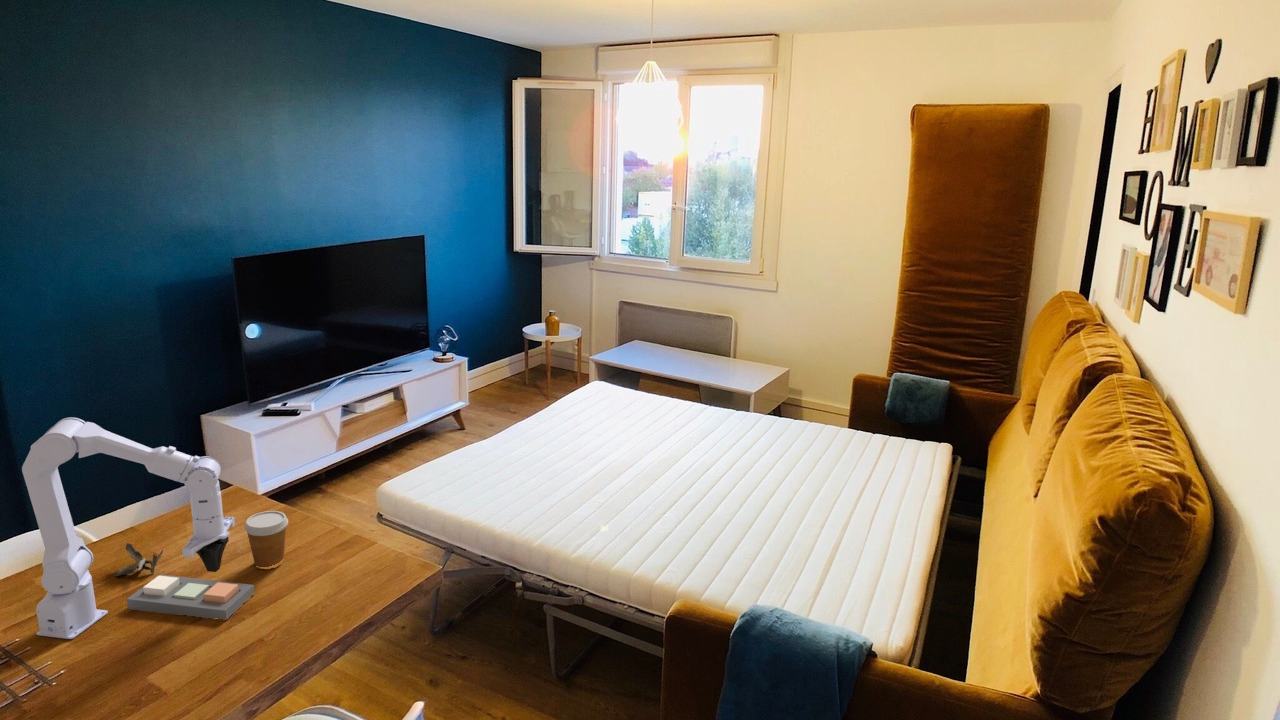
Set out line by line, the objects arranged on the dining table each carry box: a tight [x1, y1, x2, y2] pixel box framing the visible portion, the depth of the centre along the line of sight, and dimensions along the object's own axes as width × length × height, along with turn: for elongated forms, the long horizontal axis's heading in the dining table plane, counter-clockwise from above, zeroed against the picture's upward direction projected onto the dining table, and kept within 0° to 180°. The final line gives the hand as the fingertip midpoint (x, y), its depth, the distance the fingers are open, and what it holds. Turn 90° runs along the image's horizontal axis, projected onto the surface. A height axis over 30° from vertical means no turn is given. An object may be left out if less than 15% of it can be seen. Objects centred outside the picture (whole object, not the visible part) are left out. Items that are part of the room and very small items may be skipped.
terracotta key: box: [204, 582, 239, 604], centre depth 163 cm, size 5×5×3 cm
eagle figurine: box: [114, 543, 164, 577], centre depth 173 cm, size 8×7×9 cm
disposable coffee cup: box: [244, 510, 289, 567], centre depth 179 cm, size 10×10×12 cm
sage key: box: [174, 583, 209, 600], centre depth 163 cm, size 5×5×3 cm
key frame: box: [126, 574, 255, 620], centre depth 164 cm, size 10×23×2 cm, turn 85°
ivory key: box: [142, 575, 180, 597], centre depth 164 cm, size 5×5×3 cm
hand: (213, 570), depth 161 cm, fingers closed
